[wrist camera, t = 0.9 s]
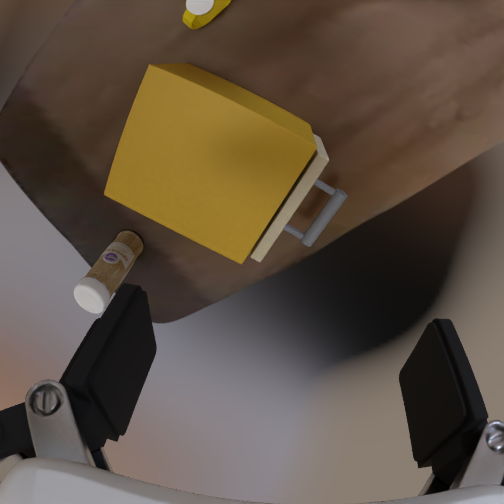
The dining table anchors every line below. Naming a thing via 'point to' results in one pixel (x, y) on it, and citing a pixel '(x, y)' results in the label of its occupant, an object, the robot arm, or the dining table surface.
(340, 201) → the drawer
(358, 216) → the dining table surface
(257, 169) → the cabinet
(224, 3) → the watch
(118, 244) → the sprinkles bottle
